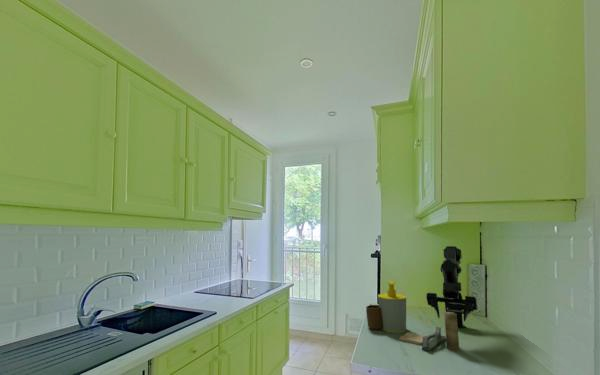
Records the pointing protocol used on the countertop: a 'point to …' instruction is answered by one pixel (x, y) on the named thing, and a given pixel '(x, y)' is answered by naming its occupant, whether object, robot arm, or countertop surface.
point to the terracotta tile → (412, 338)
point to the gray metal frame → (433, 340)
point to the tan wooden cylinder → (451, 331)
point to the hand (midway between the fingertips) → (451, 319)
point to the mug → (374, 317)
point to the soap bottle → (393, 310)
